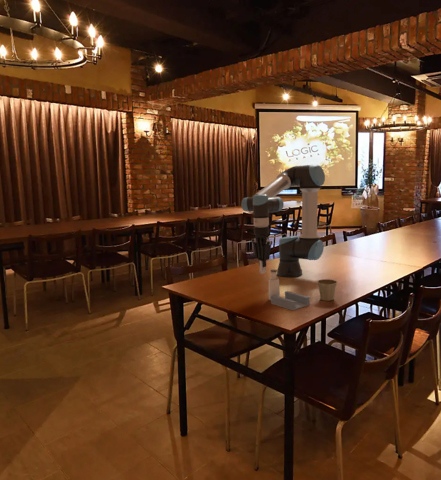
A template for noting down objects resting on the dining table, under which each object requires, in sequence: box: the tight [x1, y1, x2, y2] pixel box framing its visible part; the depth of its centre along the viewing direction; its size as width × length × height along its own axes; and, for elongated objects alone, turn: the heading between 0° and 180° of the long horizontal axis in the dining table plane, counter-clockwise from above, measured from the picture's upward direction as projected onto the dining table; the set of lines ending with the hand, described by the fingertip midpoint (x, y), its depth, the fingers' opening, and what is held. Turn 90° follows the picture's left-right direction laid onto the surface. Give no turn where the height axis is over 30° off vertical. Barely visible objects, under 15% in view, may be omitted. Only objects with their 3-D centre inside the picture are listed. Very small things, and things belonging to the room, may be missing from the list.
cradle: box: [270, 290, 311, 311], centre depth 183 cm, size 14×11×4 cm
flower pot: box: [316, 278, 338, 302], centre depth 188 cm, size 9×9×9 cm
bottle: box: [268, 269, 281, 301], centre depth 191 cm, size 5×5×15 cm
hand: (262, 272), depth 196 cm, fingers closed
